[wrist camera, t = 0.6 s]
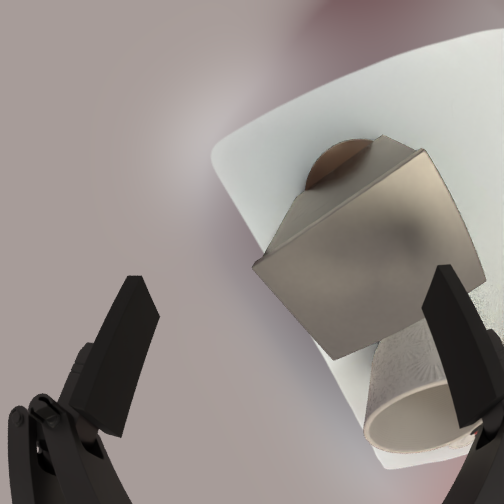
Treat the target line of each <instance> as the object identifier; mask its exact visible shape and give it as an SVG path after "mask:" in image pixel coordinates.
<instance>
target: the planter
mask: <svg viewBox="0 0 504 504" xmlns="http://www.w3.org/2000/svg"><path fill="white" fill-rule="evenodd" d="M482 423H483V422H482V418H481V419H480V420H478V421H477V422H476V423H475V424H473V425H470V426H467V427H464V428H461V429H459V424H458V420H457V416H456V412H455V408H454V404H453V400H452V397H451V393H450V389H449V386H448V383H447V379H446V376H445V373H444V369H443V366H442V363H441V360H440V357H439V354H438V351H437V348H436V346H435V343H434V340H433V337H432V335H431V332H430V329H429V327H428V324H427V321H426V319H425V318H424V319H422V320H420V321H418V322H417V323H415V324H413V325H411V326H409V327H407V328H405V329H403V330H401V331H399V332H397V333H395V334H393V335H391V336H389V337H387V338H384V339H382V340H381V341H380V343H379V345H378V347H377V349H376V352H375V354H374V358H373V361H372V367H371V375H370V385H369V393H368V401H367V408H366V415H365V422H364V428H363V432H364V436H365V438H366V440H367V441H368V442H369V443H370V444H371V445H372V446H374V447H376V448H378V449H380V450H383V451H387V452H392V453H402V454H408V453H420V452H426V451H431V450H435V449H438V448H441V447H444V446H447V445H449V444H452V443H454V442H456V441H458V440H460V439H462V438H464V437H465V436H467V435H469V434H470V433H471V432H472V430H474V429H475V428H476V427H478V426H479V425H480V424H482Z"/></svg>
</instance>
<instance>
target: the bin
mask: <svg viewBox="0 0 504 504" xmlns="http://www.w3.org/2000/svg"><path fill="white" fill-rule="evenodd" d="M446 264H451V266H452V267H453V269H454V271H455V272H456V274H457V276H458V277H459V279H460V281H461V283H462V284H463V286H464V288H465V290H466V291H467V293H469V292H470V291H472V290H474V289H475V288H477V287H478V286H480V285H481V284H483V283H484V282H486V277H485V274H484V271H483V268H482V266H481V263H480V260H479V257H478V255H477V252H476V250H475V247H474V245H473V242H472V240H471V237H470V235H469V232H468V230H467V228H466V226H465V223H464V221H463V219H462V217H461V215H460V212H459V210H458V208H457V206H456V204H455V202H454V200H453V198H452V196H451V194H450V192H449V190H448V188H447V187H446V185H445V183H444V181H443V179H442V177H441V175H440V174H439V172H438V170H437V168H436V167H435V165H434V163H433V162H432V160H431V158H430V156H429V155H428V153H427V152H426V150H425V149H422V148H420V149H419V150H418V151H416V150H414V149H412V148H410V147H408V146H406V145H404V144H402V143H400V142H398V141H395V140H393V139H391V138H389V137H387V136H385V135H381V136H380V137H379V138H377V139H376V140H374V141H373V142H372V143H370V144H369V145H367V146H366V147H365V148H363V149H362V150H360V151H359V152H358V153H356V154H355V155H353V156H352V157H351V158H349V159H348V160H346V161H345V162H344V163H342V164H341V165H340V166H338V167H337V168H335V169H334V170H333V171H331V172H330V173H329V174H327V175H326V176H324V177H323V178H322V179H320V180H319V181H318V182H316V183H315V184H313V185H312V186H311V187H309V188H308V189H307V190H305V191H304V192H303V193H301V194H300V195H299V196H297V197H296V198H295V200H294V202H293V203H292V205H291V207H290V209H289V211H288V212H287V214H286V216H285V218H284V220H283V221H282V223H281V225H280V227H279V228H278V230H277V232H276V234H275V236H274V237H273V239H272V241H271V243H270V244H269V246H268V248H267V250H266V252H265V253H264V255H263V257H262V258H260V259H259V260H257V261H256V262H255V263H254V265H253V266H252V269H253V270H254V271H255V273H256V274H257V275H258V276H259V277H260V278H261V279H262V280H263V282H264V283H265V284H266V285H267V286H268V287H269V289H270V290H271V291H272V292H273V293H274V294H275V295H276V297H277V298H278V299H279V300H280V301H281V302H282V303H283V304H284V306H285V307H286V308H287V309H288V310H289V311H290V312H291V314H292V315H293V316H294V317H295V318H296V319H297V320H298V321H299V323H300V324H301V325H302V326H303V327H304V328H305V329H306V330H307V332H308V333H309V334H310V335H311V336H312V337H313V338H314V339H315V341H316V342H317V343H318V344H319V345H320V346H321V347H322V348H323V350H324V351H325V352H326V353H327V354H328V355H329V356H330V357H331V359H332V360H336V359H339V358H341V357H344V356H346V355H349V354H351V353H353V352H356V351H358V350H360V349H363V348H365V347H367V346H369V345H372V344H374V343H376V342H378V341H380V340H382V339H384V338H387V337H389V336H391V335H393V334H395V333H397V332H399V331H401V330H403V329H405V328H407V327H409V326H411V325H413V324H415V323H417V322H418V321H420V320H422V319H424V318H425V316H424V314H423V311H422V309H421V307H422V304H423V302H424V300H425V297H426V295H427V292H428V289H429V287H430V284H431V282H432V279H433V276H434V273H435V271H436V268H437V265H446Z"/></svg>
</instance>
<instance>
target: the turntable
mask: <svg viewBox="0 0 504 504" xmlns="http://www.w3.org/2000/svg"><path fill="white" fill-rule="evenodd" d="M372 142H373V140H368V139H352V140H347V141H343V142H340V143H338V144H336V145H334V146H332V147H331V148H329V149H328V150H326V151H325V152H324V153H323V154H322V155H321V156H320V157H319V158H318V159H317V161H316V162H315V164H314V165H313V167H312V169H311V171H310V173H309V175H308V178H307V181H306V186H305V190H307V189H308V188H309V187H311V186H312V185H313V184H315V183H316V182H318V181H319V180H320V179H322V178H323V177H324V176H326V175H327V174H329V173H330V172H331V171H333V170H334V169H335V168H337V167H338V166H340V165H341V164H342V163H344V162H345V161H346V160H348V159H349V158H351V157H352V156H353V155H355V154H356V153H358V152H359V151H360V150H362V149H363V148H365V147H366V146H367V145H369V144H370V143H372Z"/></svg>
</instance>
